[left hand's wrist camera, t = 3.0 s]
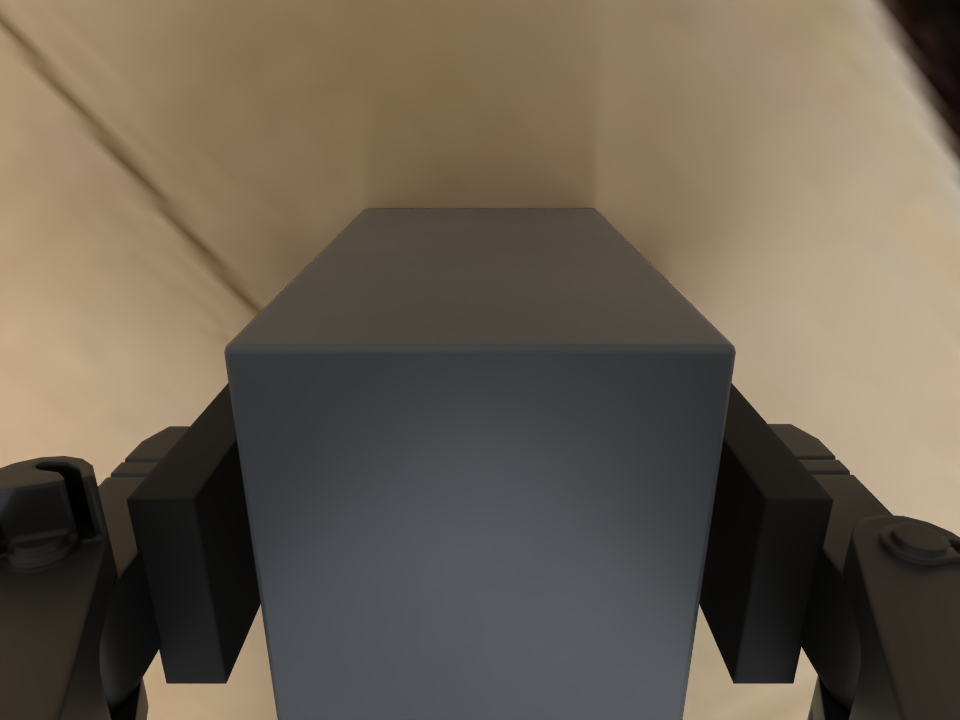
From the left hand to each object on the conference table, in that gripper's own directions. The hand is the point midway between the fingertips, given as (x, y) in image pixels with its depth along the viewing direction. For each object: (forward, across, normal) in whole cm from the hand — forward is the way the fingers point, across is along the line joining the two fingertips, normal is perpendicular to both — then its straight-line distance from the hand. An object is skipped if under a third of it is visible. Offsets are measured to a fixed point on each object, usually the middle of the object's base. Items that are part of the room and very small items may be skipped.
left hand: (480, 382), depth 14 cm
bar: (+1, 0, -9) cm, 9 cm away
